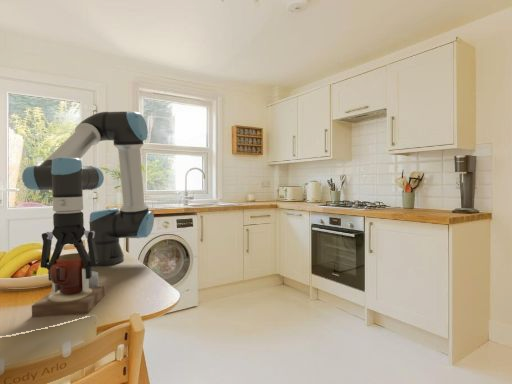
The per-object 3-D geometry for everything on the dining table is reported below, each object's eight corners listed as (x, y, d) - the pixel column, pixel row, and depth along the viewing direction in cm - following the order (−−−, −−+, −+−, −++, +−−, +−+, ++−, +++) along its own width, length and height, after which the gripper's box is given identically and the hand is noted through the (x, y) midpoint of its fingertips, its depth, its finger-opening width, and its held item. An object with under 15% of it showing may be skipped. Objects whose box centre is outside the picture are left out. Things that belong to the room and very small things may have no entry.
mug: (71, 285, 101) (70, 252, 101) (96, 287, 99) (95, 253, 99) (38, 299, 89) (37, 262, 89) (66, 301, 88) (65, 264, 87)
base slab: (56, 297, 101) (56, 286, 100) (104, 295, 102) (104, 284, 102) (32, 316, 87) (31, 304, 87) (87, 313, 89) (87, 301, 88)
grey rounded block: (80, 283, 115) (80, 271, 115) (101, 282, 116) (101, 271, 116) (72, 289, 108) (71, 277, 108) (94, 288, 109) (94, 276, 109)
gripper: (22, 213, 88) (25, 297, 89) (101, 212, 91) (103, 293, 92) (37, 211, 96) (39, 287, 97) (109, 209, 99) (111, 284, 100)
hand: (70, 290), depth 94 cm, fingers closed on mug, 7 cm apart
